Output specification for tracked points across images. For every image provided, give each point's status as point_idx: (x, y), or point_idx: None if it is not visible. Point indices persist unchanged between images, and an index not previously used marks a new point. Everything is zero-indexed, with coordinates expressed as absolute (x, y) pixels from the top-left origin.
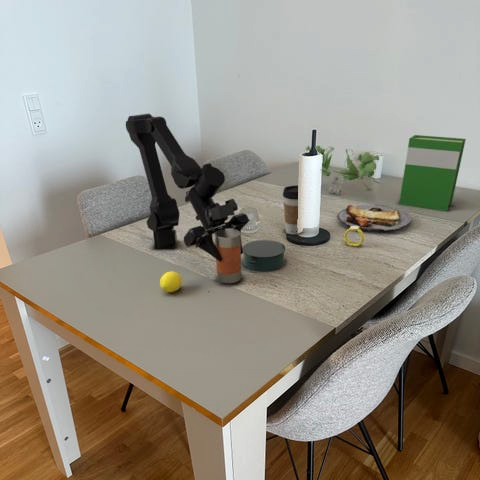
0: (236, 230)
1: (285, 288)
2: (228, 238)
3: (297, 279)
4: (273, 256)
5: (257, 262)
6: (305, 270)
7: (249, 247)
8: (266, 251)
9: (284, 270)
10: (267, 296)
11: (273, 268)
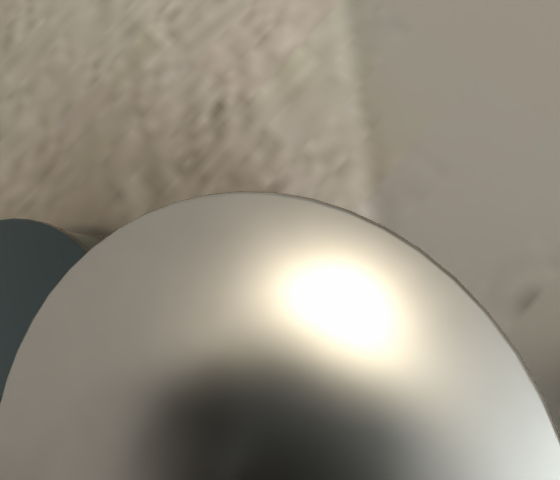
0: (18, 431)
1: (205, 65)
2: (410, 249)
3: (112, 97)
4: (48, 224)
5: None
6: (32, 139)
7: None
8: (24, 305)
9: (83, 201)
10: (317, 54)
11: (103, 238)
